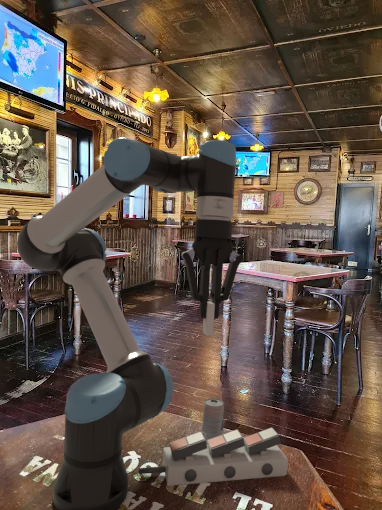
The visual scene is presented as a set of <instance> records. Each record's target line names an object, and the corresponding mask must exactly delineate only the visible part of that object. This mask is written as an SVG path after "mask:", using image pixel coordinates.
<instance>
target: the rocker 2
mask: <svg viewBox="0 0 382 510" xmlns="http://www.w3.org/2000/svg"><path fill="white" fill-rule="evenodd" d="M243 438H244V437H243V436H242V434H241V432H240V431H239V429H238V428H237V429H234V430H231V431H229V432H226V433H223V435H220V436H217V437H214V438H211V439H209V440H206V441H207V445H208V449H209V451H210V453H211V455H212V457H216V456H219V455H222V454H224V453H227V452H230V451H233V450H235V449H238V448H241V447H243V446H245V443H244V439H243Z"/></svg>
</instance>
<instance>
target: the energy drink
mask: <svg viewBox="0 0 382 510" xmlns="http://www.w3.org/2000/svg"><path fill="white" fill-rule="evenodd" d="M202 409H203V411H202V424H201V425H202V426H201V429H202V430H201V431H202V434H203V436H204V438H205V440H209V439H211V438H214V437H217V436H220V435H223V434H224V433H223V432H224V418H225V417H224V416H225V414H224V413H225V404H224V401H223V400H221V399H219V398H215V397H209V398H206V399H205V400H204V402H203V407H202ZM206 444H207V441H206Z"/></svg>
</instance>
